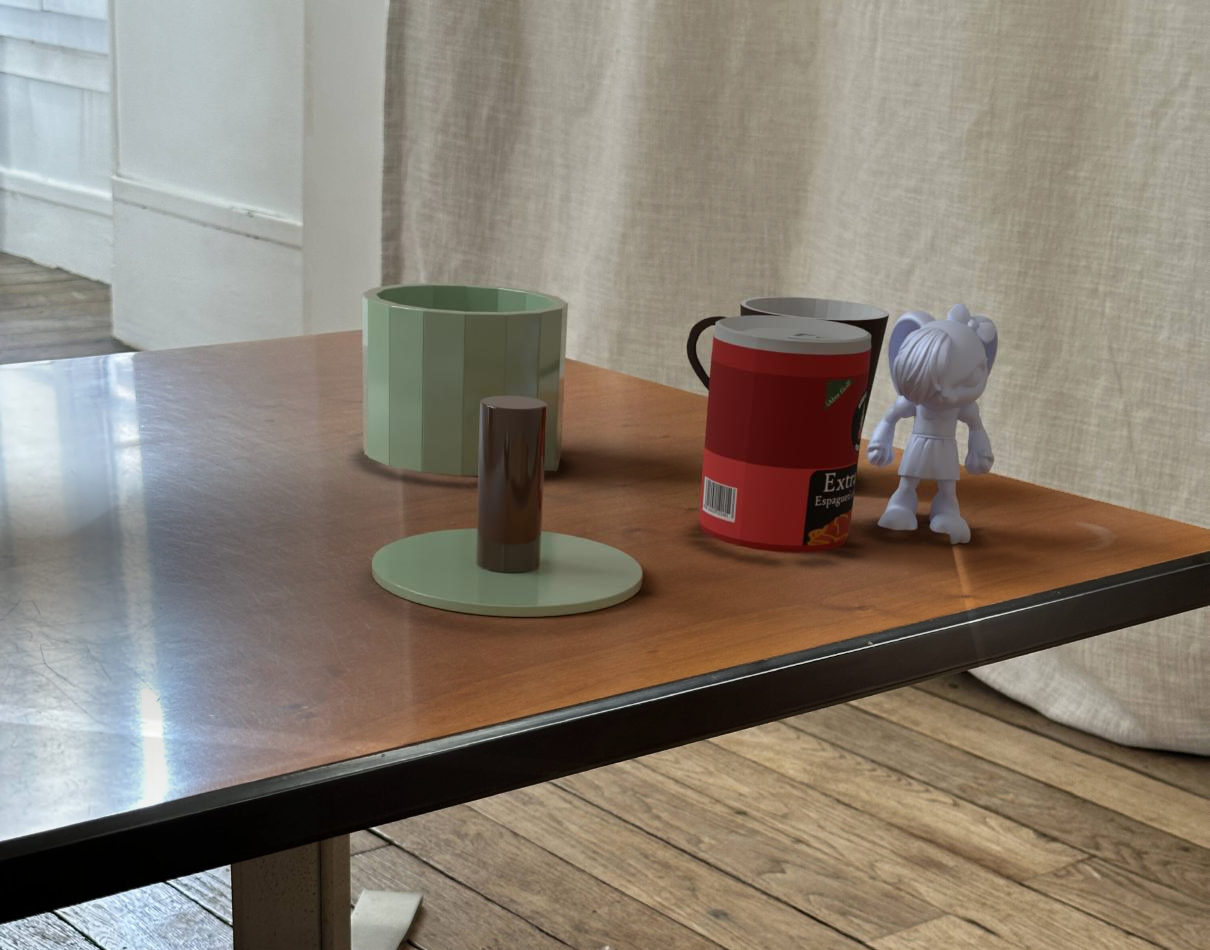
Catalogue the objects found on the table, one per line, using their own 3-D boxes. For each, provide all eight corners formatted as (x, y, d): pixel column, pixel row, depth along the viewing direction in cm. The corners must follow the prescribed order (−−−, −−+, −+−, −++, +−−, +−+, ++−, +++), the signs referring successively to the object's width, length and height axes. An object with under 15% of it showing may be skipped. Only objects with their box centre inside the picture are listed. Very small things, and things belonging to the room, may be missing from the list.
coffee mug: (898, 488, 102) (920, 316, 98) (788, 502, 98) (806, 323, 94) (775, 446, 111) (790, 287, 107) (668, 457, 107) (679, 291, 102)
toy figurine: (858, 540, 91) (886, 308, 86) (857, 510, 97) (883, 292, 92) (989, 551, 91) (1025, 318, 86) (980, 521, 96) (1013, 301, 91)
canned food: (834, 570, 86) (860, 346, 81) (680, 549, 88) (696, 329, 83) (859, 534, 92) (884, 325, 88) (715, 515, 94) (732, 309, 90)
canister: (342, 475, 98) (340, 304, 94) (390, 433, 108) (390, 277, 104) (542, 492, 97) (549, 320, 93) (571, 448, 107) (579, 292, 103)
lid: (340, 615, 75) (339, 418, 72) (406, 540, 86) (407, 367, 83) (625, 642, 74) (638, 443, 70) (653, 562, 85) (666, 387, 82)
